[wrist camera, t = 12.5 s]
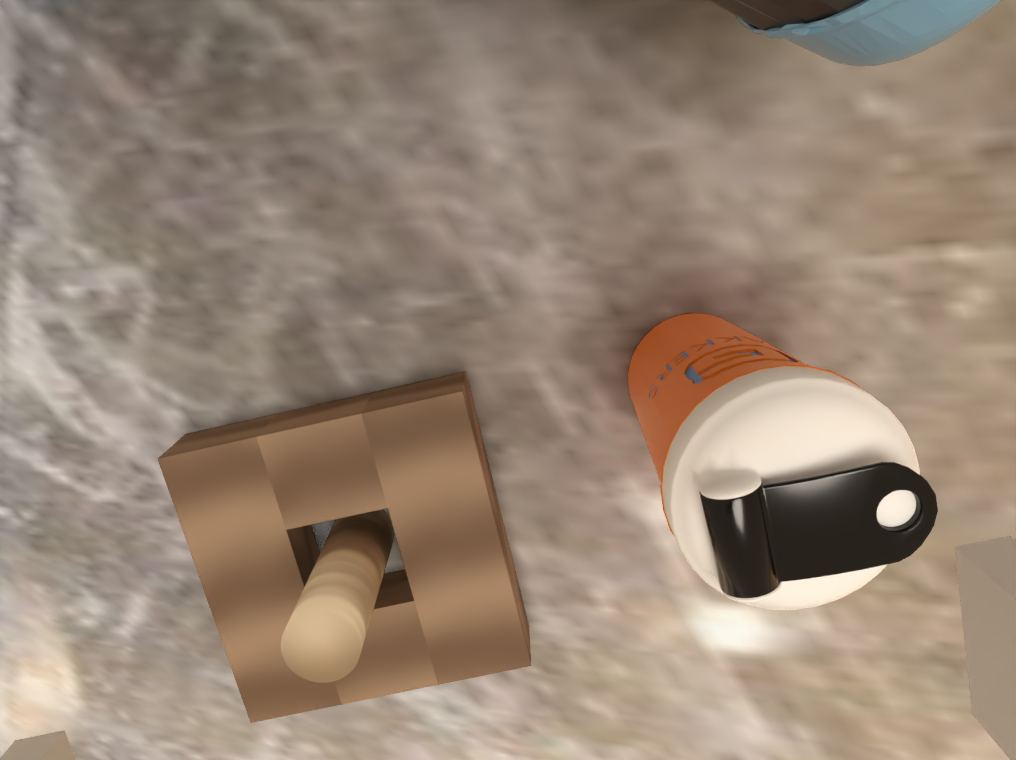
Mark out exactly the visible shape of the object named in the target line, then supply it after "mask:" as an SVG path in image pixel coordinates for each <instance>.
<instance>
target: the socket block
mask: <svg viewBox="0 0 1016 760" xmlns="http://www.w3.org/2000/svg"><path fill="white" fill-rule="evenodd" d="M158 461H159V464H160V467H161V470H162V472H163V475H164V478H165V481H166V484H167V487H168V489H169V492H170V495H171V498H172V501H173V504H174V507H175V509H176V512H177V515H178V518H179V521H180V524H181V526H182V529H183V532H184V535H185V538H186V541H187V543H188V546H189V549H190V552H191V555H192V558H193V560H194V563H195V566H196V569H197V572H198V575H199V577H200V580H201V583H202V586H203V589H204V592H205V594H206V597H207V600H208V603H209V606H210V609H211V611H212V614H213V617H214V620H215V623H216V626H217V628H218V631H219V634H220V637H221V640H222V643H223V646H224V648H225V651H226V654H227V657H228V660H229V663H230V665H231V668H232V671H233V674H234V677H235V680H236V682H237V685H238V688H239V691H240V694H241V697H242V699H243V702H244V705H245V708H246V711H247V714H248V716H249V719H250V722H251V723H252V722H257V721H262V720H267V719H272V718H277V717H282V716H287V715H292V714H297V713H302V712H306V711H311V710H316V709H321V708H326V707H331V706H336V705H341V704H346V703H351V702H355V701H360V700H365V699H370V698H375V697H380V696H385V695H390V694H395V693H400V692H405V691H409V690H414V689H419V688H424V687H429V686H434V685H439V684H444V683H449V682H454V681H458V680H463V679H468V678H473V677H478V676H483V675H488V674H493V673H498V672H503V671H508V670H512V669H517V668H522V667H527V666H531V654H530V636H529V625H528V621H527V617H526V613H525V609H524V605H523V601H522V596H521V592H520V588H519V584H518V580H517V576H516V572H515V568H514V564H513V560H512V556H511V552H510V548H509V544H508V540H507V536H506V532H505V528H504V524H503V520H502V516H501V512H500V508H499V504H498V500H497V496H496V492H495V488H494V484H493V480H492V476H491V472H490V468H489V463H488V459H487V455H486V451H485V447H484V443H483V439H482V435H481V431H480V427H479V423H478V419H477V415H476V411H475V407H474V403H473V399H472V395H471V391H470V387H469V383H468V379H467V375H466V372H462V373H457V374H453V375H449V376H444V377H440V378H435V379H431V380H426V381H422V382H417V383H413V384H408V385H404V386H399V387H395V388H390V389H386V390H381V391H377V392H372V393H368V394H363V395H359V396H354V397H350V398H345V399H341V400H336V401H332V402H327V403H323V404H318V405H314V406H309V407H305V408H300V409H296V410H291V411H287V412H282V413H278V414H273V415H269V416H264V417H260V418H255V419H251V420H247V421H242V422H238V423H233V424H229V425H224V426H220V427H215V428H211V429H206V430H202V431H197V432H193V433H188V434H185V435H184V436H183V437H182V438H181V439H180V440H178V441H177V442H176V443H175V444H174V445H173V446H172V447H170V448H169V449H168V450H167V451H166V452H165V453H164V454H163V455H161V456H160V457H159V458H158ZM386 508H388V510H389V514H390V517H391V521H392V524H393V528H394V531H395V535H396V538H397V542H398V545H399V549H400V552H401V556H402V559H403V563H404V566H405V570H401V571H396V572H392V573H387V574H384V575H383V578H382V581H381V585H380V588H379V592H378V595H377V599H376V602H375V606H374V609H373V612H372V616H371V619H370V623H369V626H368V630H367V633H366V637H365V640H364V644H363V647H362V650H361V654H360V657H359V660H358V663H357V664H356V666H355V668H354V669H353V670H352V671H351V672H350V673H349V674H348V675H346V676H345V677H343V678H341V679H339V680H337V681H333V682H327V683H318V682H312V681H309V680H306V679H304V678H301V677H300V676H298V675H297V674H295V673H294V672H293V671H292V670H291V669H290V668H289V667H288V666H287V664H286V663H285V661H284V659H283V656H282V653H281V639H282V635H283V632H284V630H285V628H286V626H287V624H288V622H289V620H290V617H291V615H292V613H293V611H294V609H295V607H296V604H297V602H298V600H299V598H300V596H301V594H302V592H303V589H304V587H305V585H306V583H307V581H308V579H309V576H310V574H311V572H312V570H313V568H314V566H315V564H316V561H317V559H318V557H319V555H320V552H319V549H318V546H317V543H316V540H315V536H314V533H313V530H312V527H311V524H316V523H321V522H325V521H330V520H335V519H339V518H344V517H348V516H353V515H358V514H362V513H367V512H372V511H376V510H381V509H386Z"/></svg>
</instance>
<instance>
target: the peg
mask: <svg viewBox="0 0 1016 760" xmlns="http://www.w3.org/2000/svg"><path fill="white" fill-rule="evenodd" d="M394 534H395V532H394V528H393V524H392V521H391V519H390V517H389V516H388V515H387V513H386V512H384V511H383V510H382V509H381V510H376V511H372V512H367V513H362V514H358V515H353V516H348V517H344V518H339V519H336V520H335V523H334V525H333V527H332V529H331V531H330V533H329V536H328V538H327V540H326V542H325V544H324V546H323V548H322V551H321V553H320V555H319V557H318V559H317V561H316V564H315V566H314V568H313V570H312V572H311V574H310V576H309V579H308V581H307V583H306V585H305V587H304V589H303V592H302V594H301V596H300V598H299V600H298V602H297V604H296V607H295V609H294V611H293V613H292V615H291V617H290V620H289V622H288V624H287V626H286V628H285V630H284V632H283V635H282V639H281V653H282V656H283V659H284V661H285V663H286V664H287V666H288V667H289V668H290V669H291V670H292V671H293V672H294V673H295V674H297V675H298V676H300V677H301V678H304V679H306V680H309V681H312V682H318V683H327V682H333V681H337V680H339V679H341V678H343V677H345V676H346V675H348V674H349V673H350V672H351V671H352V670H353V669H354V668H355V666H356V664H357V663H358V660H359V657H360V654H361V650H362V647H363V644H364V640H365V637H366V633H367V630H368V626H369V623H370V619H371V616H372V612H373V609H374V606H375V602H376V599H377V595H378V592H379V588H380V585H381V581H382V578H383V575H384V571H385V568H386V564H387V561H388V557H389V554H390V550H391V547H392V544H393V540H394Z"/></svg>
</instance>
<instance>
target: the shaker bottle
mask: <svg viewBox="0 0 1016 760" xmlns="http://www.w3.org/2000/svg"><path fill="white" fill-rule="evenodd" d="M628 386H629V393H630V396H631V399H632V402H633V405H634V408H635V410H636V413H637V416H638V419H639V422H640V425H641V428H642V431H643V433H644V436H645V439H646V442H647V445H648V448H649V451H650V454H651V456H652V459H653V462H654V465H655V468H656V471H657V474H658V477H659V479H660V482H661V496H662V504H663V511H664V513H665V516H666V519H667V522H668V525H669V528H670V530H671V532H672V534H673V535H674V537H675V539H676V541H677V543H678V545H679V548H680V550H681V551H682V553H683V554H684V556H685V558H686V559H687V561H688V563H689V564H690V566H691V567H692V568H693V569H694V570H695V572H696V573H697V574H698V575H699V576H700V577H701V578H702V579H703V580H704V581H705V582H706V583H707V584H709V585H710V586H712V587H713V588H715V589H716V590H717V591H719V592H720V593H722V594H723V595H725V596H726V597H727V598H729V599H731V600H734V601H738V602H741V603H743V604H746V605H750V606H755V607H760V608H764V609H772V610H796V609H803V608H810V607H816V606H820V605H823V604H826V603H829V602H832V601H835V600H838V599H840V598H842V597H844V596H846V595H848V594H850V593H852V592H854V591H855V590H857V589H859V588H861V587H862V586H864V585H865V584H866V583H867V582H869V581H870V580H871V579H873V578H874V577H875V576H877V575H878V574H879V573H880V572H881V571H882V570H883V569H884V567H885V566H886V565H887V564H891V563H895V562H899V561H901V560H903V559H905V558H907V557H909V556H910V555H911V554H912V553H914V552H915V551H916V550H917V549H918V548H919V547H920V546H921V545H922V544H923V542H924V541H925V539H926V538H927V536H928V535H929V533H930V532H931V530H932V528H933V526H934V523H935V519H936V515H937V512H938V508H937V502H936V495H935V493H934V491H933V490H932V488H931V486H930V485H929V483H928V482H927V481H926V480H925V479H924V478H923V477H922V476H921V475H920V470H919V464H918V461H917V457H916V453H915V449H914V446H913V444H912V442H911V440H910V438H909V436H908V434H907V432H906V430H905V428H904V427H903V425H902V424H901V423H900V422H899V420H898V419H897V418H896V417H895V416H894V414H893V413H892V412H891V411H890V410H889V409H888V408H887V407H886V406H885V405H883V404H882V403H881V402H879V401H878V400H877V399H875V398H874V397H873V396H871V395H870V394H869V393H867V392H866V391H864V390H863V389H862V388H860V387H859V386H858V385H856V384H855V383H854V382H853V381H851V380H849V379H847V378H844V377H842V376H840V375H838V374H836V373H834V372H832V371H828V370H824V369H820V368H816V367H812V366H809V365H807V364H805V363H804V362H802V361H800V360H798V359H796V358H794V357H793V356H791V355H789V354H787V353H785V352H783V351H781V350H780V349H778V348H776V347H774V346H772V345H770V344H769V343H767V342H765V341H763V340H761V339H759V338H757V337H756V336H754V335H752V334H750V333H748V332H746V331H745V330H743V329H741V328H739V327H737V326H735V325H733V324H732V323H730V322H728V321H726V320H724V319H721V318H719V317H717V316H713V315H709V314H701V313H690V314H684V315H678V316H676V317H673V318H670V319H667V320H665V321H664V322H662V323H660V324H659V325H657V326H655V327H654V328H653V329H652V330H651V331H650V332H649V333H647V334H646V335H645V337H644V338H643V339H642V340H641V342H640V343H639V344H638V346H637V348H636V350H635V352H634V354H633V356H632V359H631V362H630V366H629V372H628Z"/></svg>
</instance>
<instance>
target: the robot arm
mask: <svg viewBox="0 0 1016 760" xmlns="http://www.w3.org/2000/svg"><path fill="white" fill-rule="evenodd" d="M708 1H710V2H712V3H714V4H716V5H718V6H719V7H721V8H723V9H725V10H727V11H729V12H731V13H732V14H734V15H735V16H736V18H737V19H738V20H739V21H740V22H741V23H742V24H743V25H744V26H745V27H747V28H748V29H750V30H751V31H753V32H755V33H757V34H760V33H763V34H765V35H766V36H768V37H770V38H784V39H786V40H788V41H790V42H793V43H795V44H797V45H799V46H801V47H803V48H805V49H808V50H810V51H812V52H814V53H816V54H818V55H820V56H822V57H825V58H827V59H829V60H831V61H833V62H837V63H840V64H841V63H842V64H848V65H856V66H875V65H881V64H885V63H890V62H894V61H898V60H901V59H904V58H907V57H910V56H913V55H915V54H917V53H919V52H922V51H924V50H926V49H928V48H930V47H932V46H934V45H936V44H938V43H940V42H942V41H944V40H945V39H947V38H949V37H950V36H952V35H954V34H955V33H957V32H958V31H960V30H962V29H963V28H965V27H966V26H968V25H969V24H971V23H972V22H973V21H975V20H976V19H978V18H979V17H980V16H982V15H983V14H985V13H986V12H987V11H989V10H990V9H991V8H993V7H994V6H995V5H997V4H998V3H999V2H1000V1H1002V0H708ZM955 553H956V562H957V572H958V582H959V592H960V601H961V611H962V621H963V630H964V640H965V650H966V660H967V669H968V679H969V689H970V698H971V708H972V714H973V716H974V717H975V718H976V719H977V720H978V722H979V723H980V724H981V725H982V726H983V727H984V729H985V730H986V731H987V732H988V733H989V735H990V736H991V737H992V738H993V739H994V741H995V742H996V743H997V744H998V745H999V747H1000V748H1001V749H1002V750H1003V751H1004V753H1005V754H1006V755H1007V756H1008V757H1009V759H1010V760H1016V540H1015V539H1014V538H1012V537H1011V536H1007V537H1002V538H997V539H992V540H987V541H982V542H977V543H973V544H968V545H963V546H958V547H955ZM0 760H76V757H75V755H74V753H73V750H72V748H71V746H70V743H69V741H68V738H67V736H66V734H65V731H59V732H54V733H49V734H45V735H40V736H35V737H30V738H25V739H20V740H15V741H14V743H13V744H12V745H11V746H10V747H9V749H8V750H7V751H6V752H5V753H4V755H3V756H2V757H1V758H0Z"/></svg>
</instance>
